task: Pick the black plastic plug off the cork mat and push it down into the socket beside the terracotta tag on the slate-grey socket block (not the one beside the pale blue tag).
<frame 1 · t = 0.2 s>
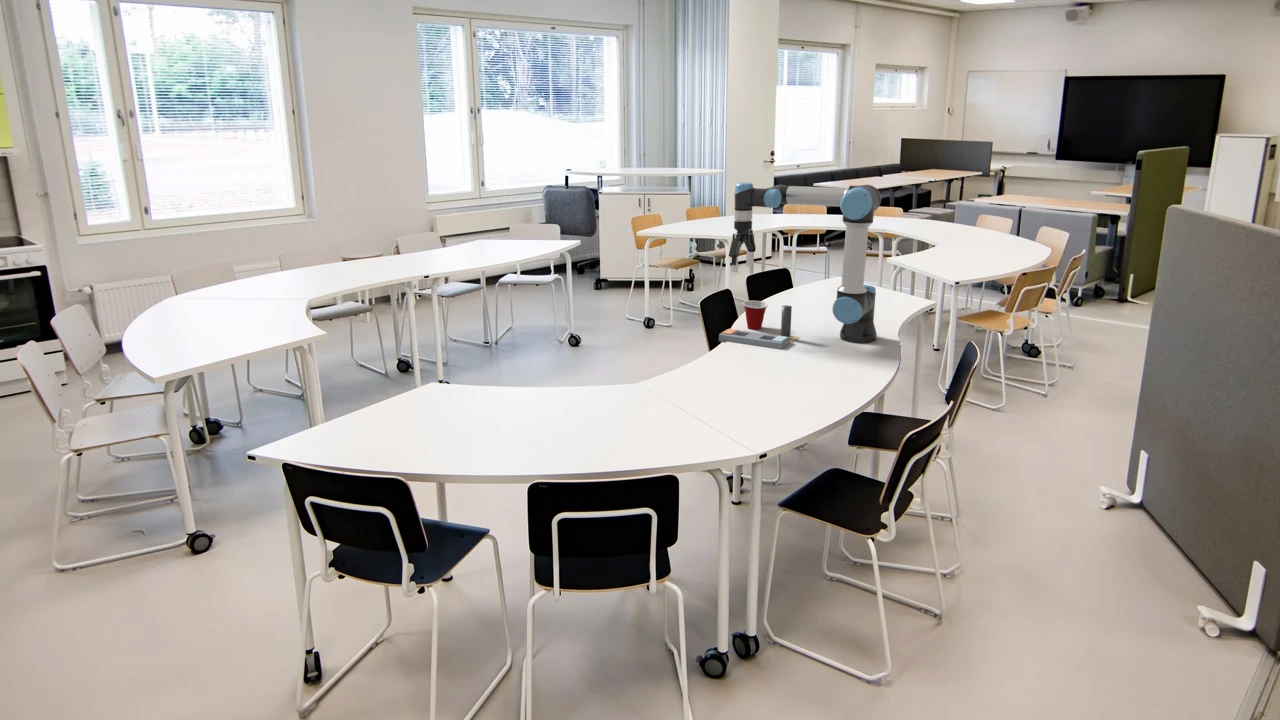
hand: (742, 269, 355), 28 cm above the table, fingers open, 13 cm apart
socket block: (754, 342, 346), on the table
plastic cup: (754, 329, 366), on the table
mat: (785, 339, 350), on the table
plug: (785, 338, 349), point 1 cm above the table, touching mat
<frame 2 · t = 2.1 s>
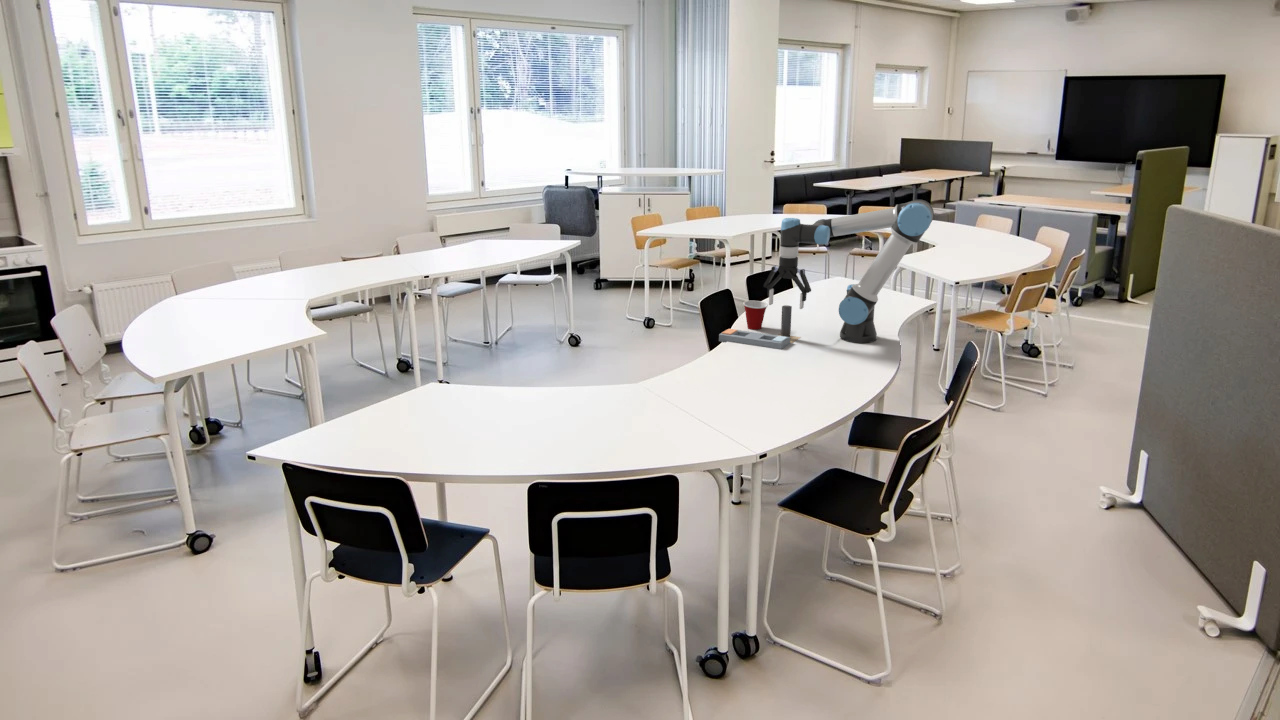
hand: (786, 306, 345), 15 cm above the table, fingers open, 13 cm apart
nothing on the table moved.
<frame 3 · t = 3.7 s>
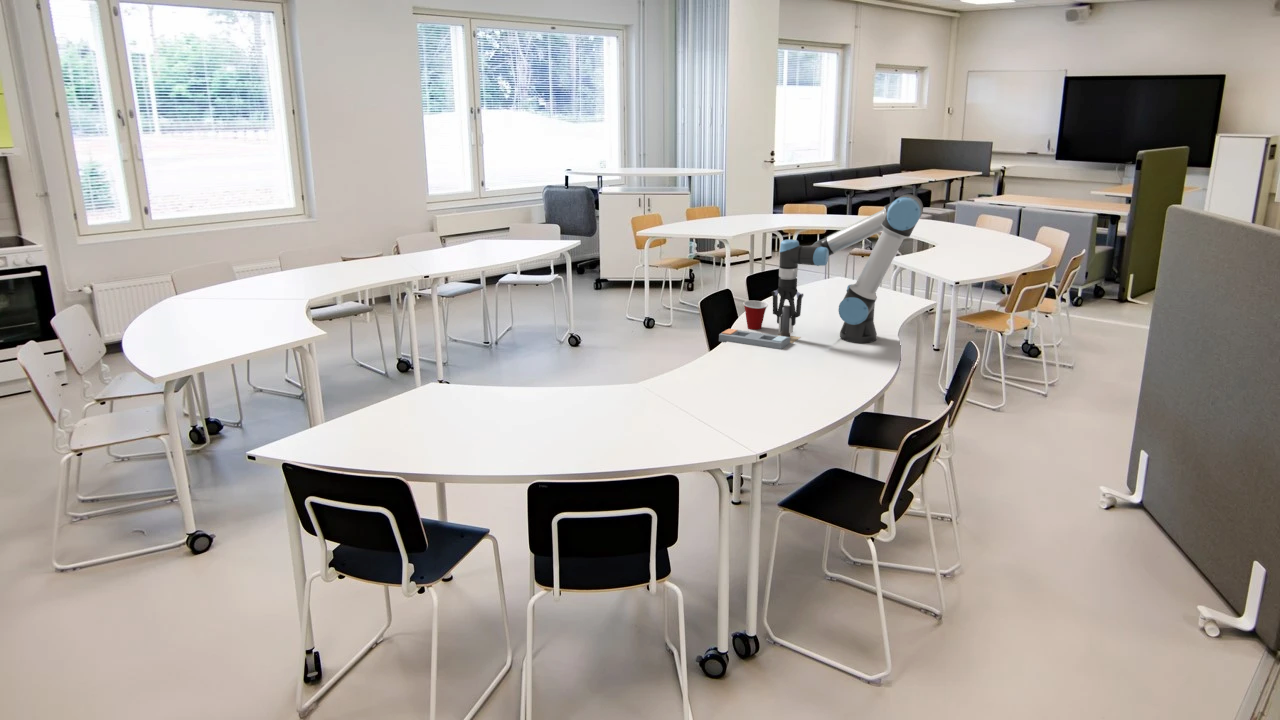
hand: (785, 331, 349), 4 cm above the table, fingers closed on plug, 4 cm apart
plug: (785, 338, 349), point 1 cm above the table, touching gripper, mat
everything else where it was.
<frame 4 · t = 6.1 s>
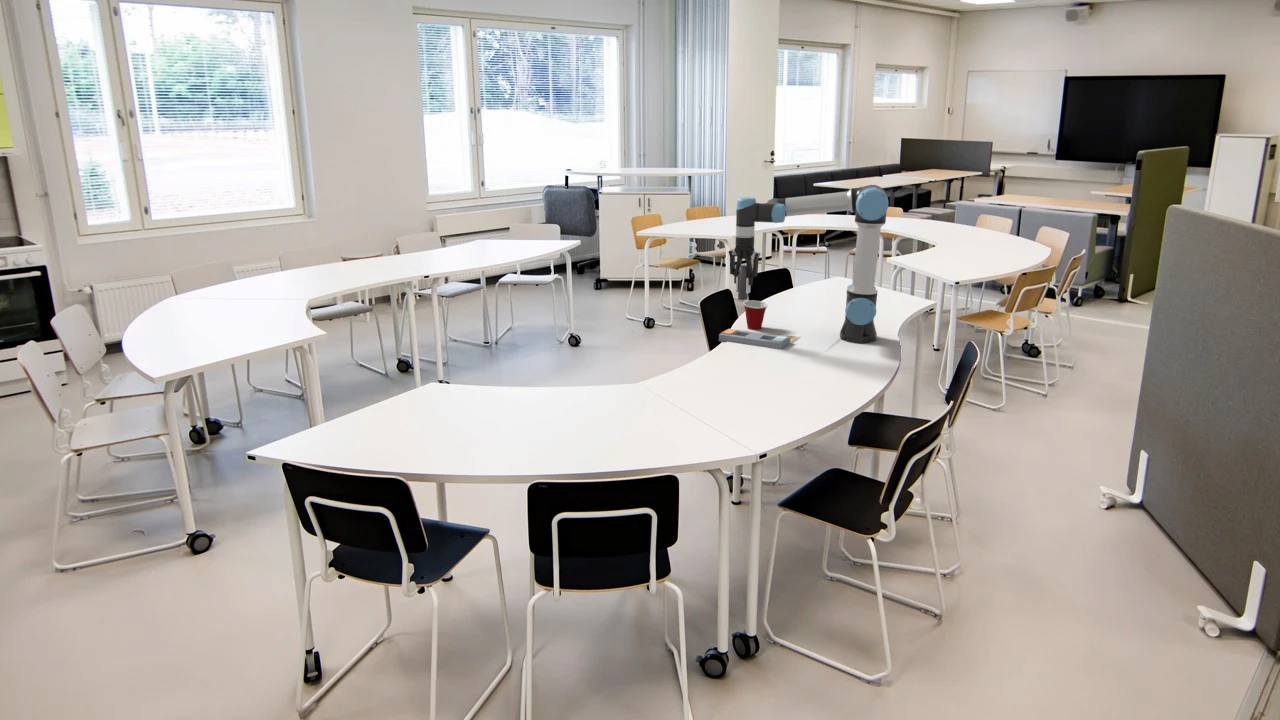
hand: (743, 292, 343), 21 cm above the table, fingers closed on plug, 4 cm apart
plug: (742, 299, 344), point 18 cm above the table, touching gripper
everything else where it was.
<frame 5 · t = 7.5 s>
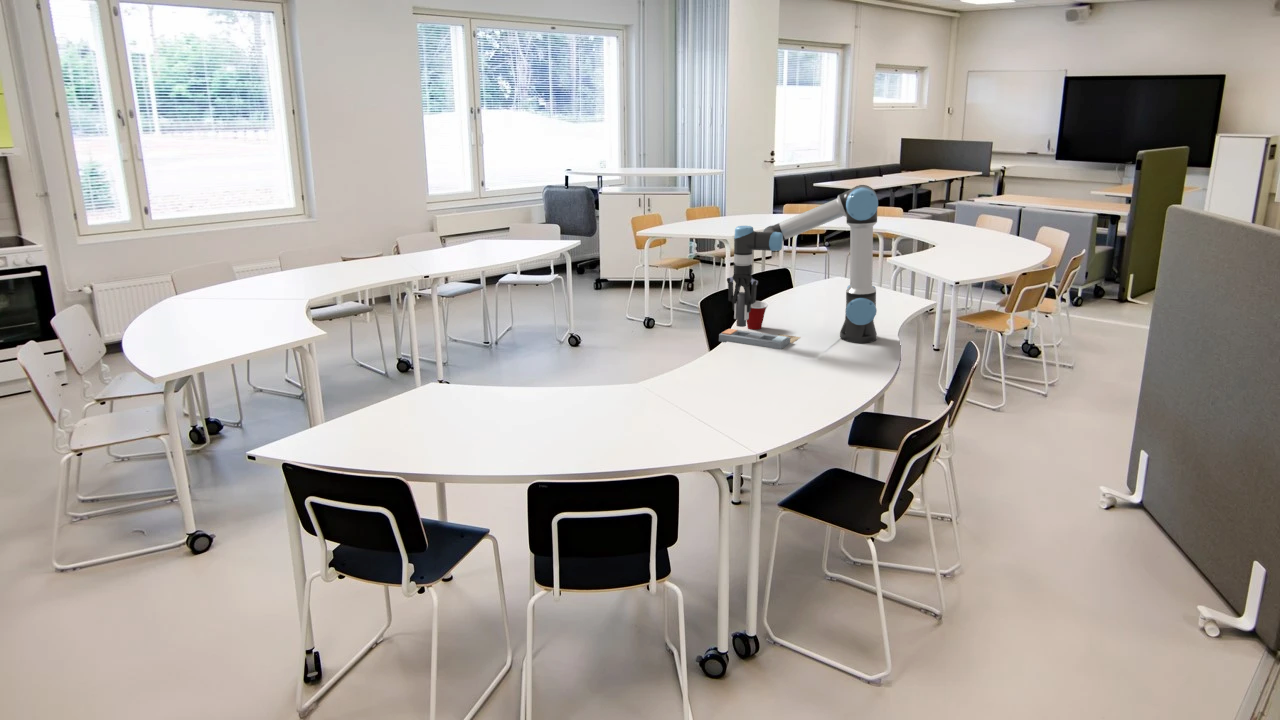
hand: (741, 318, 346), 10 cm above the table, fingers closed on plug, 4 cm apart
plug: (741, 325, 347), point 7 cm above the table, touching gripper
everything else where it was.
when the fingers open (6 cm above the table, at t = 8.5 s): plug drops 1 cm, resting on socket block.
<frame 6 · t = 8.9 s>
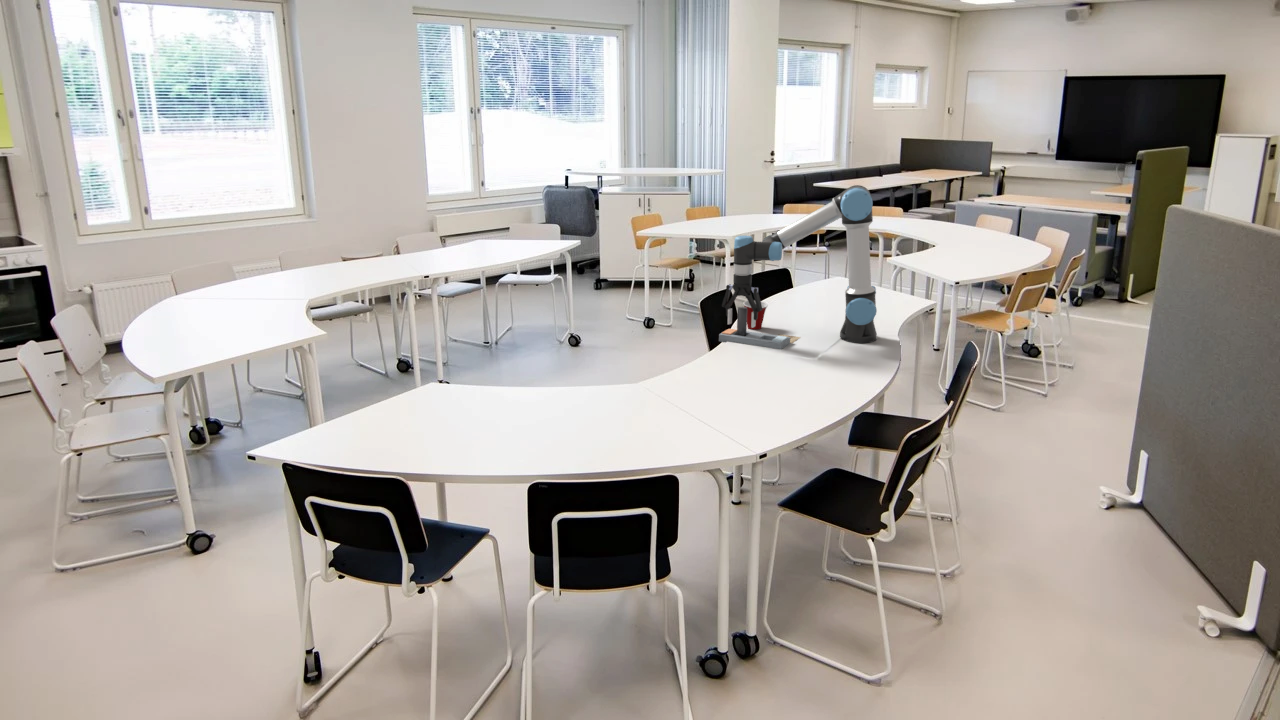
hand: (741, 325, 347), 7 cm above the table, fingers open, 10 cm apart
plug: (741, 340, 349), resting on socket block
everything else where it was.
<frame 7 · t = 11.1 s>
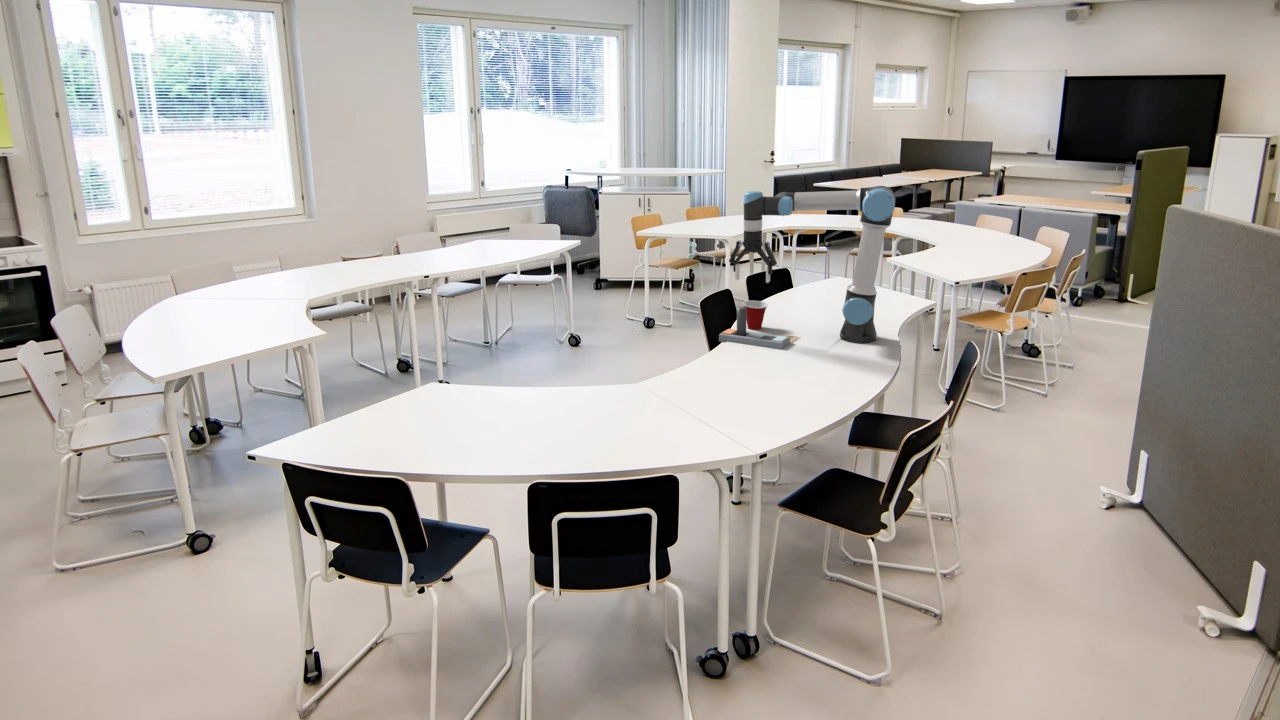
hand: (752, 280, 344), 25 cm above the table, fingers open, 13 cm apart
nothing on the table moved.
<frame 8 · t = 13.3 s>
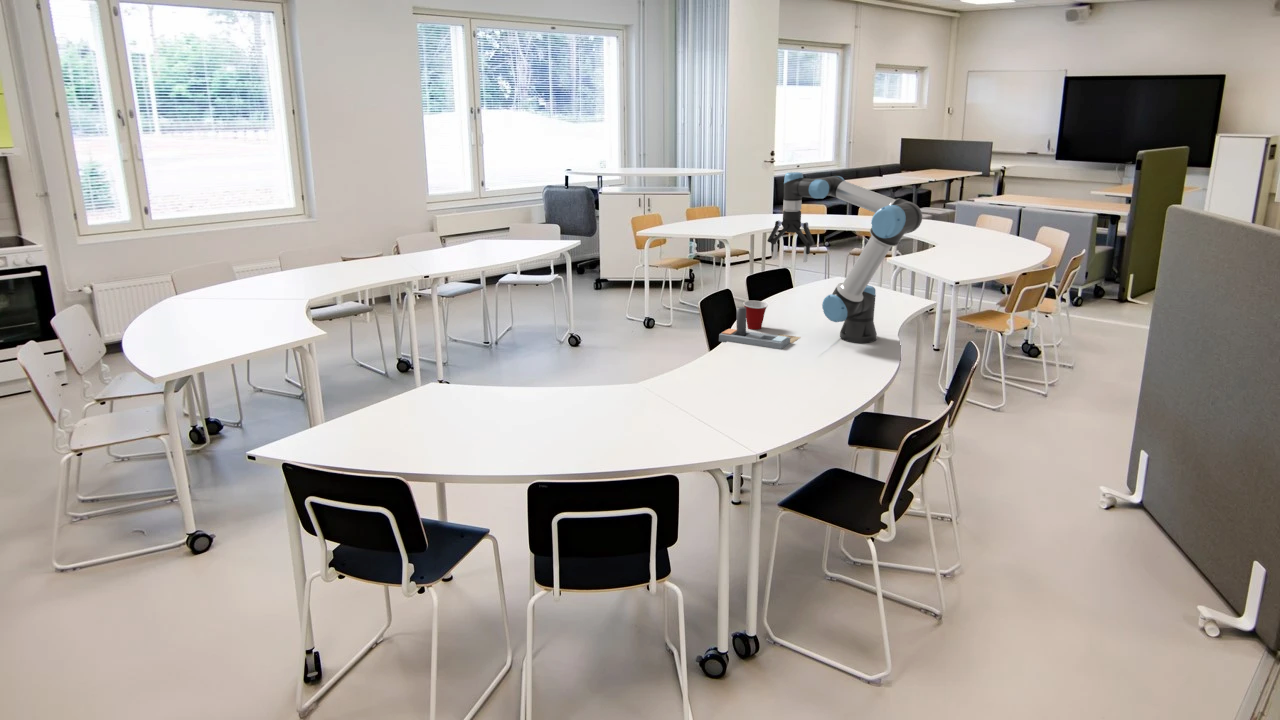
hand: (790, 260, 352), 32 cm above the table, fingers open, 13 cm apart
nothing on the table moved.
at the end: plug 0.0 cm from the target spot on the socket block, point 0.3 cm above the socket block's base; plug tilted 1°; the gripper is holding nothing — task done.
